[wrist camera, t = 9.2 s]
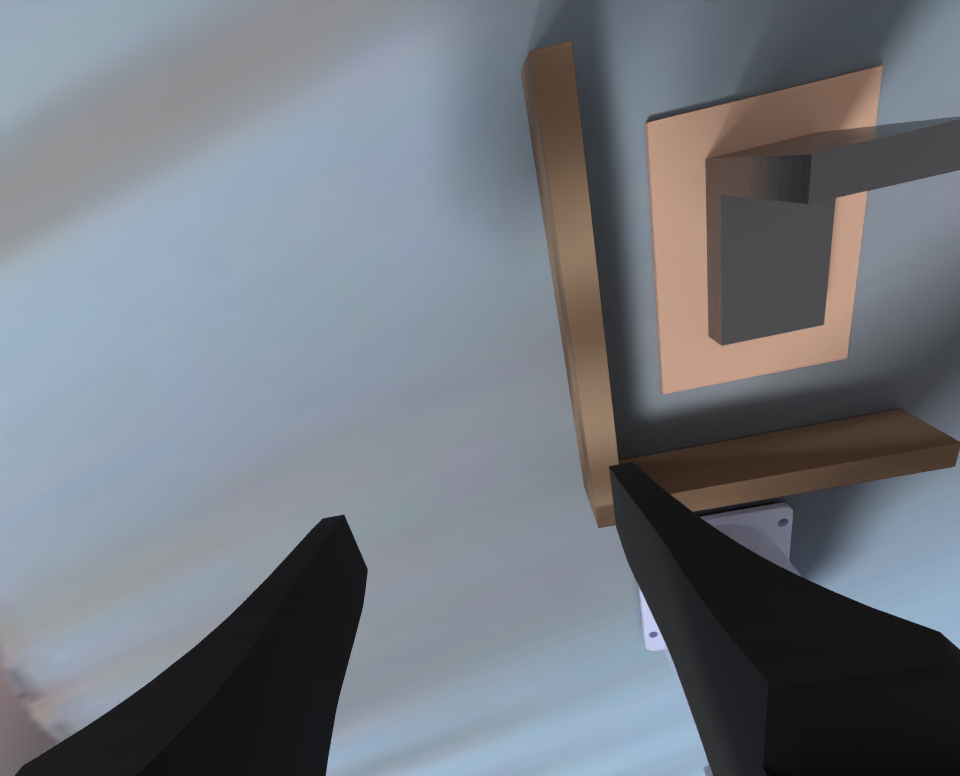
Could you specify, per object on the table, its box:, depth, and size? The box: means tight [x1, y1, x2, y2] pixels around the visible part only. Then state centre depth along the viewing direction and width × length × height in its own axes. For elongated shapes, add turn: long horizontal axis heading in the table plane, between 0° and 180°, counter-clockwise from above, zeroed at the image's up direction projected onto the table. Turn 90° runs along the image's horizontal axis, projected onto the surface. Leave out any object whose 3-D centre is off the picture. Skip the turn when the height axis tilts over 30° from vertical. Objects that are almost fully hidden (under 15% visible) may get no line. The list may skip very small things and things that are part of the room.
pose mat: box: [646, 65, 883, 394], centre depth 19 cm, size 11×8×1 cm
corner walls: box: [521, 40, 960, 528], centre depth 18 cm, size 18×15×3 cm
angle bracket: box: [705, 117, 960, 346], centre depth 16 cm, size 7×4×6 cm, turn 13°
